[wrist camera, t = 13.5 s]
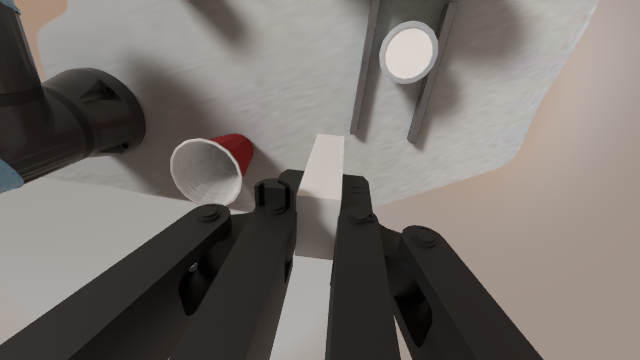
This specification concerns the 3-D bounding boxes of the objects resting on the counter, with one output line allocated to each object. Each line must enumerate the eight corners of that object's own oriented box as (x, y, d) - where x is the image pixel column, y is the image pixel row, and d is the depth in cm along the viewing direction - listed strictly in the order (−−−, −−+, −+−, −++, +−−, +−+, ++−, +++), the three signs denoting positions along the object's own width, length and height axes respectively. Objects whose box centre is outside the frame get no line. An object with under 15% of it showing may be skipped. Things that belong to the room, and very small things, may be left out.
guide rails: (350, 130, 43) (349, 134, 41) (372, -4, 34) (373, -6, 32) (413, 139, 42) (415, 143, 40) (452, 5, 33) (457, 3, 32)
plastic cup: (264, 119, 44) (235, 142, 33) (269, 175, 49) (245, 211, 38) (204, 116, 45) (158, 138, 34) (215, 171, 50) (177, 205, 39)
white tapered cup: (372, 77, 39) (375, 83, 32) (378, 24, 35) (382, 20, 29) (419, 78, 38) (431, 85, 32) (429, 24, 35) (445, 20, 28)
